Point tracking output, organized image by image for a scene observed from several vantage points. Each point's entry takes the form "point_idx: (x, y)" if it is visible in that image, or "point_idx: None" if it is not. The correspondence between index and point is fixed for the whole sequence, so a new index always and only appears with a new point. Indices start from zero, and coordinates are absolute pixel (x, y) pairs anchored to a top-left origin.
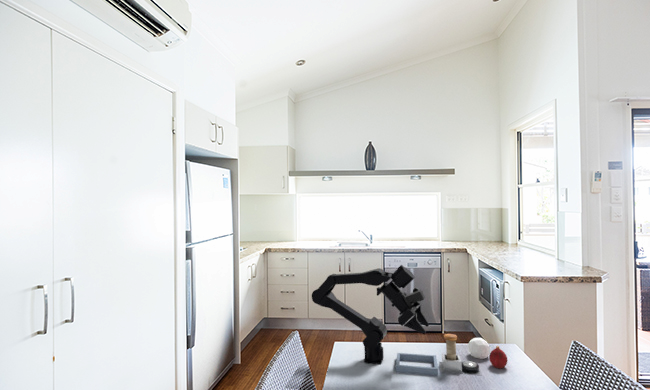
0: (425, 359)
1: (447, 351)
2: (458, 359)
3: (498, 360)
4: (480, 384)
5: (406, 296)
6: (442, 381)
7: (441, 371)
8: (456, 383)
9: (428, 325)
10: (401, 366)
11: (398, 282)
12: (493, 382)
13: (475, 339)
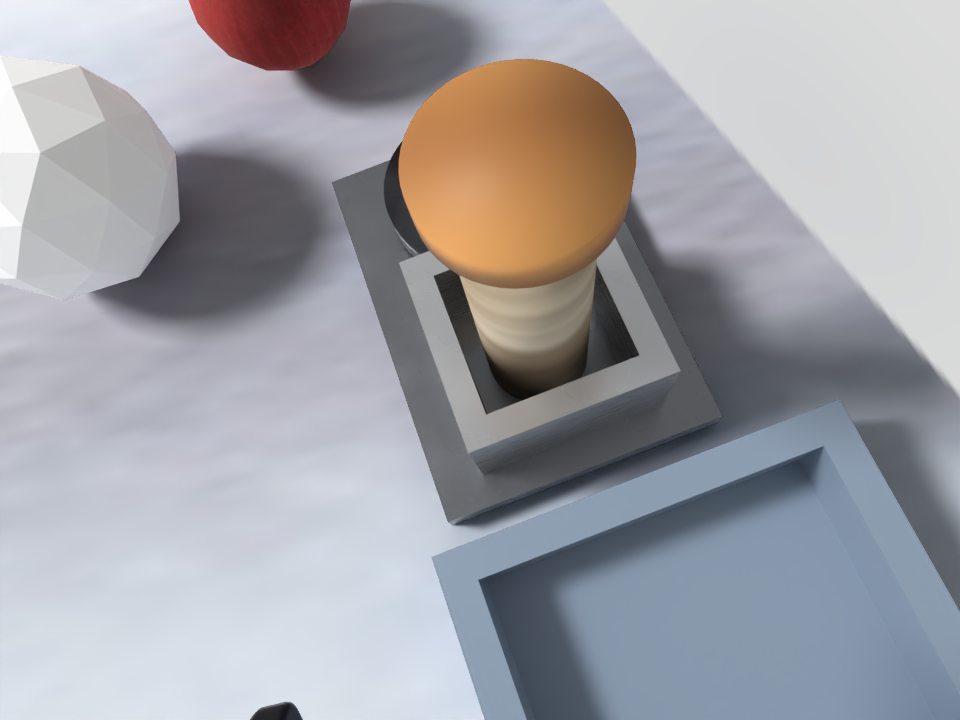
0: (518, 682)
1: (584, 311)
2: None
3: None
4: (684, 91)
5: None
6: (848, 365)
7: (699, 415)
8: (800, 247)
9: (298, 716)
10: None
11: None
12: (583, 30)
13: (1, 136)
